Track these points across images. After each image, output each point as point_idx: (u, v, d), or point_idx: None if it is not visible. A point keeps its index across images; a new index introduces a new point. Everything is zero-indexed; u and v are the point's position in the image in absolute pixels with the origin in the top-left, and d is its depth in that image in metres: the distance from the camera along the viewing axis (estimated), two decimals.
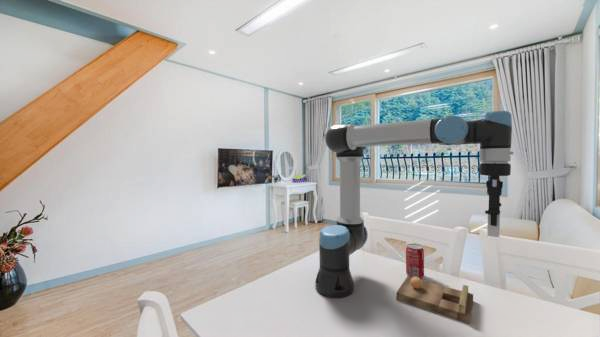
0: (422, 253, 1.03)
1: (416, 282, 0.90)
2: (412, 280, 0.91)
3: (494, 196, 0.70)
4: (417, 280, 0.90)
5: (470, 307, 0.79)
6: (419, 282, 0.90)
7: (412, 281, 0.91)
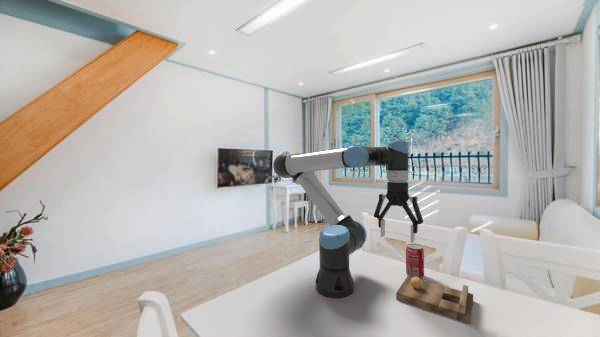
0: (422, 253, 1.03)
1: (416, 282, 0.90)
2: (412, 280, 0.91)
3: None
4: (417, 280, 0.90)
5: (470, 307, 0.79)
6: (419, 282, 0.90)
7: (412, 281, 0.91)
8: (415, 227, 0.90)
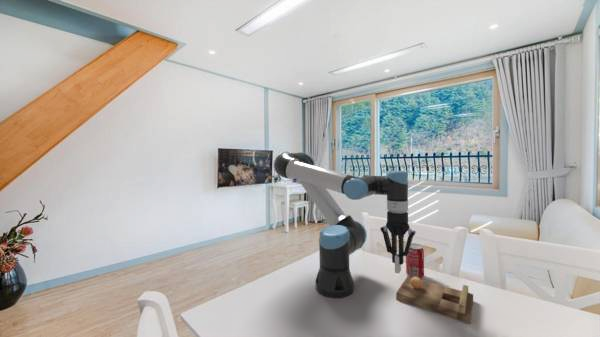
0: (422, 253, 1.03)
1: (416, 282, 0.90)
2: (412, 280, 0.91)
3: None
4: (417, 280, 0.90)
5: (470, 307, 0.79)
6: (419, 282, 0.90)
7: (412, 281, 0.91)
8: (401, 258, 0.94)
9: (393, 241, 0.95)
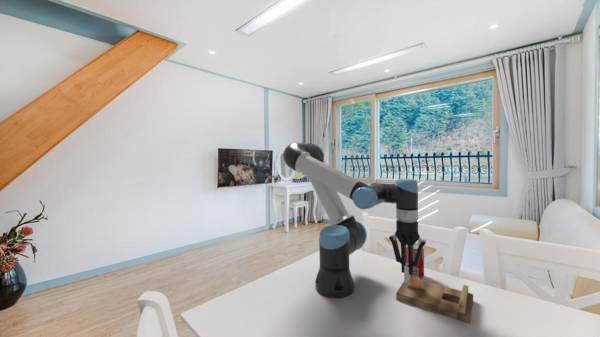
0: (422, 253, 1.03)
1: (416, 282, 0.90)
2: (412, 280, 0.91)
3: None
4: (417, 280, 0.90)
5: (470, 307, 0.79)
6: (419, 282, 0.90)
7: (412, 281, 0.91)
8: (411, 268, 0.92)
9: (402, 251, 0.93)
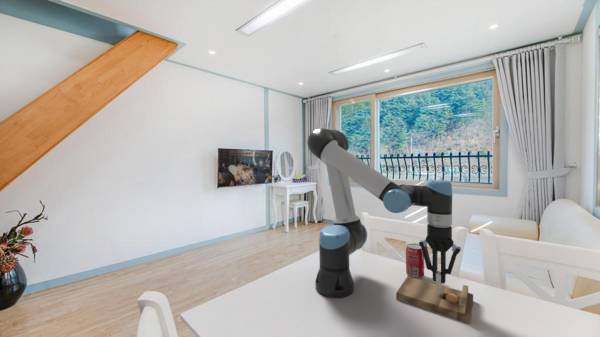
0: (422, 253, 1.03)
1: (454, 301, 0.83)
2: (450, 297, 0.84)
3: None
4: (456, 299, 0.83)
5: (470, 307, 0.79)
6: (457, 302, 0.83)
7: (450, 298, 0.84)
8: (443, 277, 0.85)
9: (434, 257, 0.86)
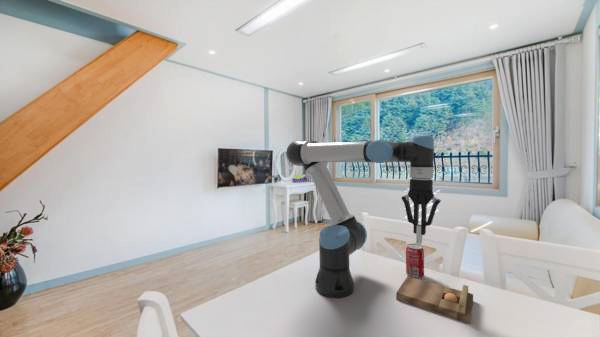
0: (422, 253, 1.03)
1: (452, 300, 0.83)
2: (448, 296, 0.84)
3: None
4: (453, 298, 0.83)
5: (470, 307, 0.79)
6: (455, 300, 0.83)
7: (447, 297, 0.84)
8: (423, 229, 0.89)
9: (415, 210, 0.89)
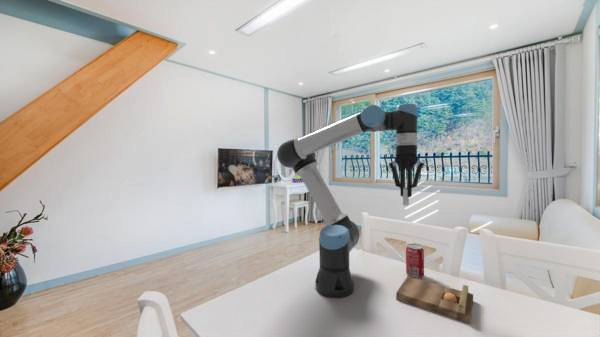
0: (422, 253, 1.03)
1: (451, 299, 0.83)
2: (446, 296, 0.84)
3: None
4: (452, 297, 0.83)
5: (470, 307, 0.79)
6: (454, 300, 0.83)
7: (446, 297, 0.84)
8: (409, 191, 0.95)
9: (402, 174, 0.96)
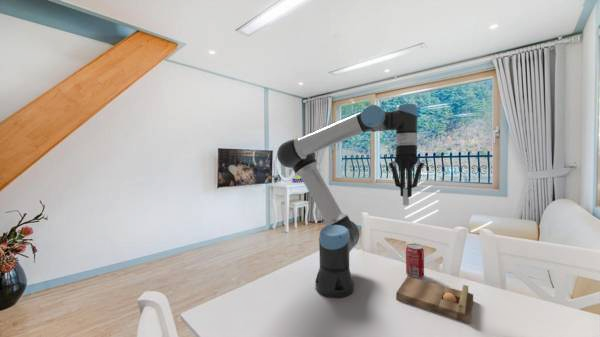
0: (422, 253, 1.03)
1: (450, 299, 0.83)
2: (446, 296, 0.85)
3: None
4: (451, 297, 0.84)
5: (470, 307, 0.79)
6: (453, 299, 0.83)
7: (446, 297, 0.84)
8: (409, 191, 0.95)
9: (402, 174, 0.96)
